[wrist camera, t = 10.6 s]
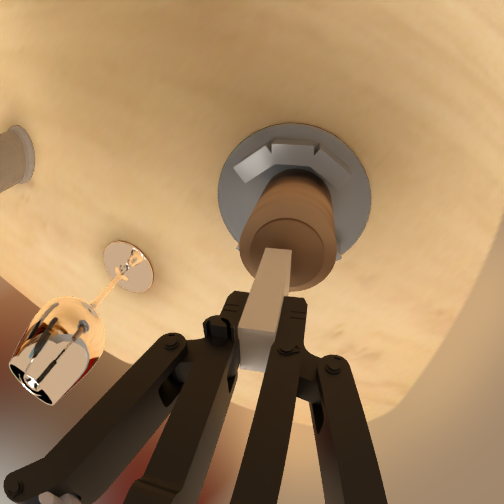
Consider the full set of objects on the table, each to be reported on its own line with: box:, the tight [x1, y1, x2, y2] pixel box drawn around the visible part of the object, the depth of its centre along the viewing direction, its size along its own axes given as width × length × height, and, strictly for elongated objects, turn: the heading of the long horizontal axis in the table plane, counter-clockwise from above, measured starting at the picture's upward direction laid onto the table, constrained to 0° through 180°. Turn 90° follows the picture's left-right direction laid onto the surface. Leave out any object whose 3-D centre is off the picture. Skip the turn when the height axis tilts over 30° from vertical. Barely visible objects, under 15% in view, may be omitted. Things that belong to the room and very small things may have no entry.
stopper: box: [239, 168, 337, 292], centre depth 23 cm, size 6×6×10 cm
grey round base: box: [218, 123, 371, 261], centre depth 26 cm, size 14×14×4 cm
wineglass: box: [9, 241, 153, 405], centre depth 28 cm, size 8×8×20 cm
